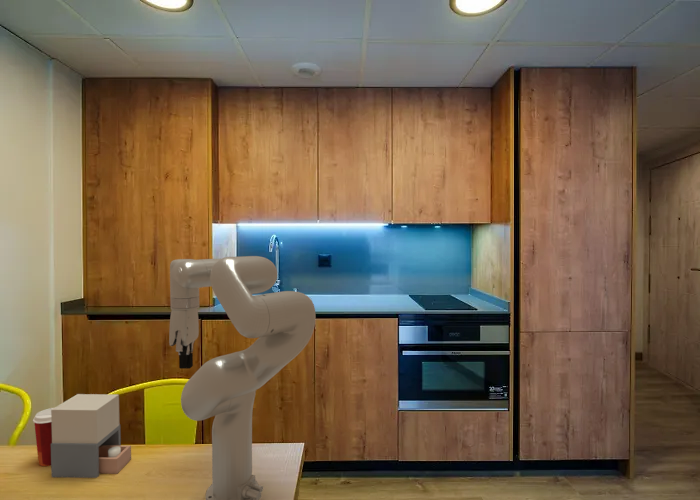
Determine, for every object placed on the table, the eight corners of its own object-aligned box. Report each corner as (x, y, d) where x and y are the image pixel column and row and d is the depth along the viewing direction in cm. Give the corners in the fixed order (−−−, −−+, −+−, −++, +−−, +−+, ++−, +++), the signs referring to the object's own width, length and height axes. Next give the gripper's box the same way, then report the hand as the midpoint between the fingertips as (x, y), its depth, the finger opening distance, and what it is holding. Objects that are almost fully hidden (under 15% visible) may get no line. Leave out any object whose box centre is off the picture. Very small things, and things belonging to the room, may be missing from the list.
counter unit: (120, 454, 120) (119, 393, 120) (96, 477, 109) (95, 411, 108) (80, 453, 120) (78, 393, 120) (51, 477, 109) (49, 410, 108)
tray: (131, 459, 118) (130, 442, 118) (117, 473, 111) (116, 456, 111) (82, 458, 118) (82, 442, 118) (65, 472, 111) (65, 455, 111)
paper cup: (74, 454, 120) (72, 407, 120) (52, 469, 113) (51, 419, 112) (49, 452, 121) (48, 405, 120) (26, 467, 113) (24, 417, 113)
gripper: (182, 298, 123) (183, 359, 124) (159, 307, 108) (160, 376, 109) (207, 298, 123) (208, 359, 124) (188, 307, 108) (189, 376, 109)
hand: (186, 367), depth 116 cm, fingers closed
